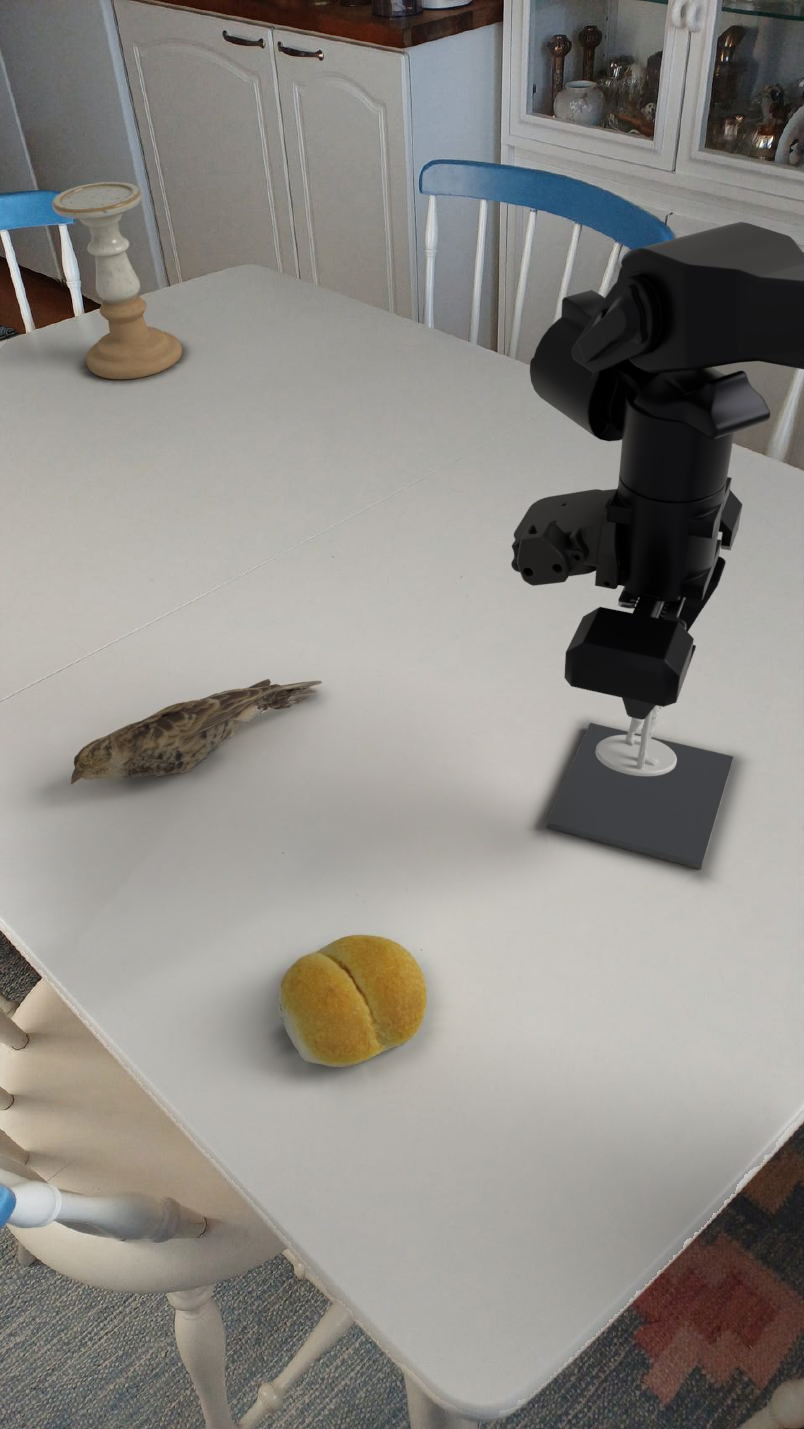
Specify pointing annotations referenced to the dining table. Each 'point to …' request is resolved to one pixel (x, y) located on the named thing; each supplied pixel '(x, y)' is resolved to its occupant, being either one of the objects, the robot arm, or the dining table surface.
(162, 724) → the bird model
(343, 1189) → the dining table surface
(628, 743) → the figurine
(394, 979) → the bread roll
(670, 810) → the slate tile
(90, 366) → the candle holder
